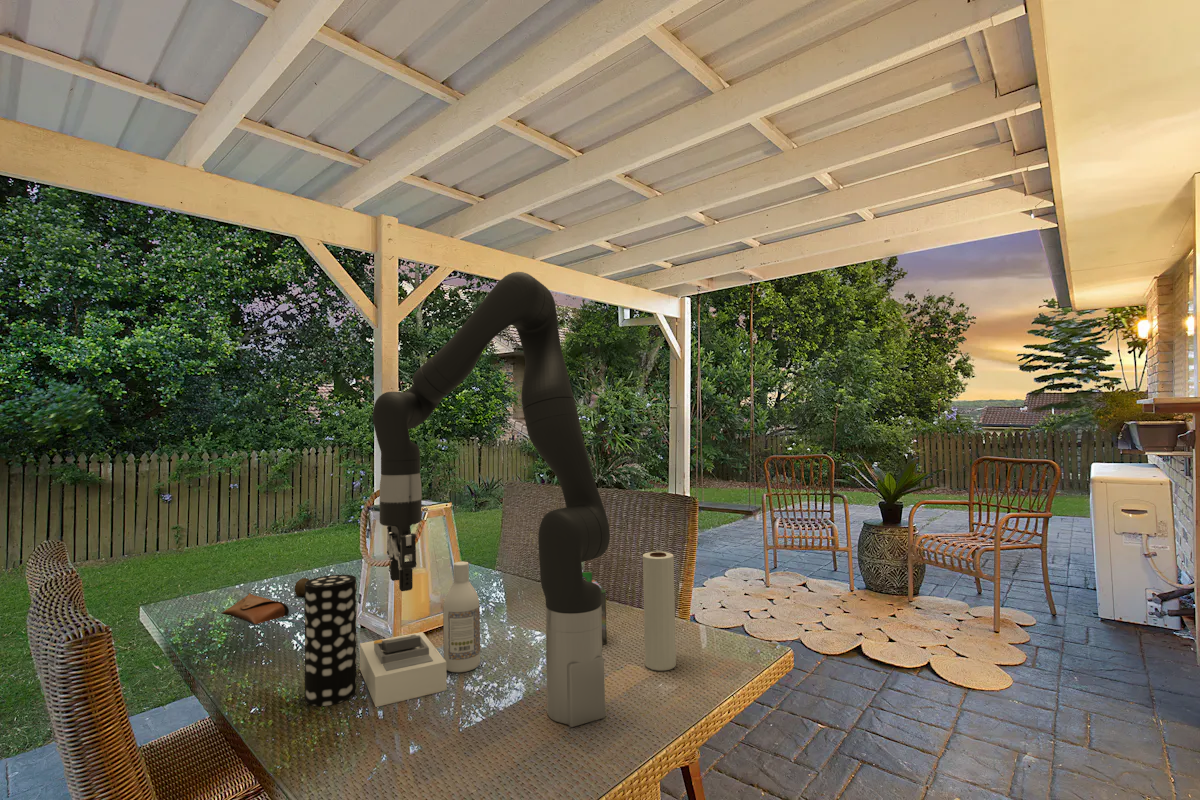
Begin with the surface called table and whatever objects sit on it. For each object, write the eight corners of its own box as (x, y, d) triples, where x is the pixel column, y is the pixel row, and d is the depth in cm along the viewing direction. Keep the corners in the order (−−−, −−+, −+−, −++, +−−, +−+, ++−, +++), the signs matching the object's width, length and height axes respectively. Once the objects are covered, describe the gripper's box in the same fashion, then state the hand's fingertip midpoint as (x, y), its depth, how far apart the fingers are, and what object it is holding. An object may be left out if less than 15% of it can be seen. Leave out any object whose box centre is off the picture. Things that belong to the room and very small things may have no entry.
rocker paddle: (420, 646, 111) (420, 636, 112) (386, 652, 108) (386, 643, 109) (414, 643, 115) (414, 634, 116) (382, 649, 112) (381, 640, 113)
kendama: (316, 592, 173) (367, 598, 165) (286, 603, 165) (339, 609, 156) (315, 571, 173) (366, 576, 165) (285, 581, 165) (338, 586, 156)
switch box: (446, 690, 107) (446, 654, 107) (375, 707, 101) (375, 669, 101) (422, 656, 123) (422, 625, 123) (360, 669, 117) (359, 637, 117)
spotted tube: (300, 709, 101) (300, 588, 101) (310, 688, 109) (309, 576, 109) (353, 702, 103) (352, 584, 104) (359, 682, 111) (358, 573, 112)
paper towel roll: (665, 674, 112) (663, 558, 113) (638, 666, 116) (636, 555, 116) (684, 661, 118) (682, 551, 118) (658, 654, 121) (656, 548, 122)
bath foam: (486, 666, 117) (485, 563, 118) (453, 676, 113) (452, 569, 113) (470, 656, 122) (469, 557, 123) (437, 665, 118) (437, 562, 119)
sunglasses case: (217, 613, 154) (231, 587, 157) (242, 620, 159) (255, 595, 162) (255, 624, 144) (269, 597, 147) (280, 632, 149) (293, 605, 152)
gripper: (430, 500, 109) (430, 591, 108) (412, 492, 121) (413, 573, 121) (386, 504, 105) (387, 597, 104) (373, 495, 117) (373, 579, 117)
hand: (401, 584), depth 113 cm, fingers open, 8 cm apart
